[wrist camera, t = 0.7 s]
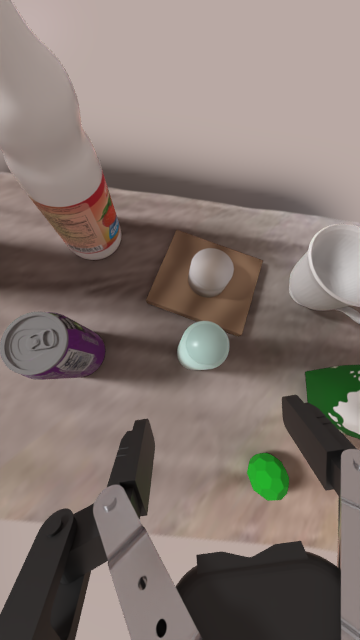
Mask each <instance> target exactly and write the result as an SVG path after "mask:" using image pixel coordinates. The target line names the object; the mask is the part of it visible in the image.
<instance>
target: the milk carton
mask: <svg viewBox="0 0 360 640" xmlns="http://www.w3.org/2000/svg"><path fill="white" fill-rule="evenodd" d="M305 376H306V388H307V400H308V403H310V404H312V405H314V406H315V407H317V408H319V409H320V410H321V412H322V413H323V414H324V415H325V416H326V418H328V419H329V420H330V421H331V422H332V424H334V425H335V426H336V428H337V429H338V430H339V431H340V432H341V433H344V434H346V435H349V436H352V437H355V438H358V439H360V365H342V366H335V367H329V368H323V369H318V370H312V371H306V372H305Z"/></svg>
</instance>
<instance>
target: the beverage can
mask: <svg viewBox="0 0 360 640" xmlns="http://www.w3.org/2000/svg"><path fill="white" fill-rule="evenodd" d="M0 354H1V358H2V360H3V362H4V363H5V365H6V366H7V367H8V368H9V369H10V370H12V371H14V372H16V373H18V374H21V375H23V376H25V377H28V378H31V379H59V378H78V377H85V376H88V375H90V374H92V373H93V372H95V371H96V370H97V369H98V368H99V367H100V365H101V364H102V362H103V359H104V356H105V346H104V343H103V340H102V339H101V337H100V336H99V335H98V334H96V333H95V332H93V331H91V330H89V329H88V328H86V327H84V326H82V325H80V324H78V323H77V322H75V321H73V320H71V319H69V318H67V317H65V316H64V315H61V314H58V313H52V312H31V313H27V314H25V315H22V316H20V317H19V318H17V319H16V320H14V321H13V322H12V323H11V324H10V325H9V326H8V327H7V329H6V330H5V332H4V334H3V336H2V338H1V342H0Z"/></svg>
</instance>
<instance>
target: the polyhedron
mask: <svg viewBox="0 0 360 640" xmlns="http://www.w3.org/2000/svg"><path fill="white" fill-rule="evenodd" d="M247 474H248V476H249V479H250V482H251V485H252V487H253V490H254V491H256V492H257V493H258V494H260V495H261V496H262V497H264V498H265V499H266V500H268V501H269V500H281V499H282V498H283V497H284V496H285V495H286V494H287V491H288V486H289V477H288V474H287V472H286V470H285V468H284V466H283V464H282V462H281V461H279V460H278V459H277V458H275V457H274V456H272V455H270V454H268V453H260V454H256V455H254V456H253V457H252V458H251V459H250V462H249V466H248V471H247Z"/></svg>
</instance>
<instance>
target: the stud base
mask: <svg viewBox="0 0 360 640" xmlns="http://www.w3.org/2000/svg"><path fill="white" fill-rule="evenodd" d="M262 262H263V260H260V259H258V258H255V257H252V256H249V255H246V254H243V253H241V252H238V251H235V250H232V249H229V248H227V247H224V246H221V245H218V244H215V243H212V242H210V241H207V240H204V239H201V238H198V237H196V236H193V235H190V234H187V233H184V232H182V231H179V230H176V232H175V234H174V237H173V239H172V241H171V244H170V246H169V248H168V251H167V253H166V255H165V257H164V260H163V262H162V264H161V267H160V269H159V271H158V274H157V276H156V278H155V281H154V283H153V285H152V287H151V290H150V292H149V294H148V297H147V299H146V301H147V303H148V304H151V305H154V306H156V307H159V308H162V309H165V310H167V311H170V312H173V313H175V314H178V315H181V316H184V317H186V318H189V319H192V320H194V321H197V322H199V321H210V322H213V323H215V324H217V325H219V326H220V327H221V328H222V329H223V330H224V331H225V332H227V333H230V334H233V335H235V336H238V337H239V336H241V335H242V332H243V329H244V325H245V322H246V318H247V315H248V311H249V308H250V304H251V301H252V297H253V294H254V290H255V287H256V283H257V280H258V276H259V273H260V269H261V266H262Z"/></svg>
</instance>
